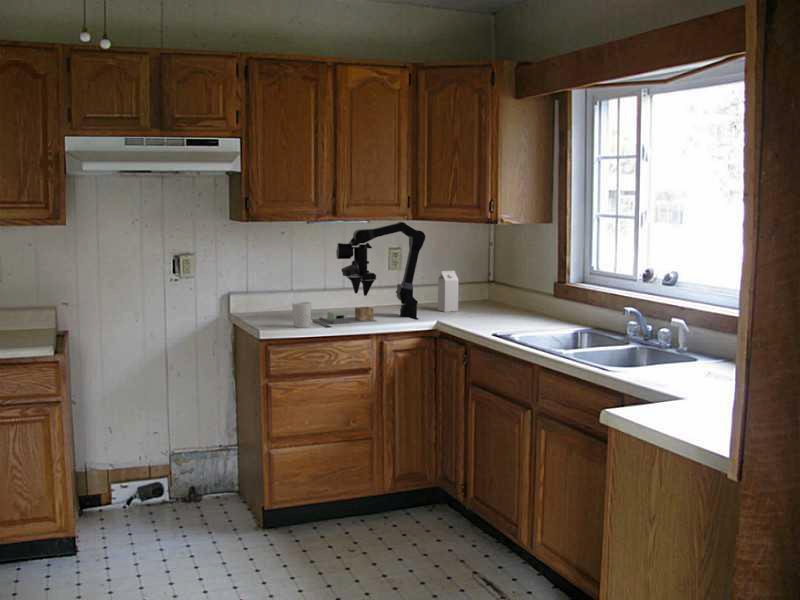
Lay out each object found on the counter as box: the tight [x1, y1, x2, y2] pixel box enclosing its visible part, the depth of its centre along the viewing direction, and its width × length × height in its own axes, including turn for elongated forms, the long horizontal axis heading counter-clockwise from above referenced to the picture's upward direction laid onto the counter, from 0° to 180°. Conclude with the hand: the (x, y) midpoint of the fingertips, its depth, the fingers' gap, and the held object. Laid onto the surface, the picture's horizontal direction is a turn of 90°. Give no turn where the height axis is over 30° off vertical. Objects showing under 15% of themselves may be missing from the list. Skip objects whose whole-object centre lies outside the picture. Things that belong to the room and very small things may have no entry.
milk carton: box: [437, 270, 459, 313], centre depth 418 cm, size 7×7×19 cm
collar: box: [354, 306, 374, 321], centre depth 383 cm, size 6×6×5 cm
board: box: [312, 316, 377, 329], centre depth 382 cm, size 24×16×5 cm, turn 116°
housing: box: [326, 310, 348, 322], centre depth 377 cm, size 6×7×4 cm
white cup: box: [291, 301, 312, 329], centre depth 372 cm, size 8×8×10 cm
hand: (360, 294), depth 387 cm, fingers open, 9 cm apart
